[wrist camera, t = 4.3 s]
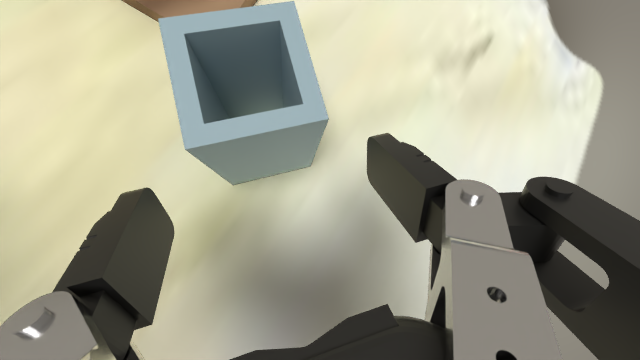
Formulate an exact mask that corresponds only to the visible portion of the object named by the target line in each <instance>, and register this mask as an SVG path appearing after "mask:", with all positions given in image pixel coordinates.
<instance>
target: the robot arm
mask: <svg viewBox="0 0 640 360" xmlns="http://www.w3.org/2000/svg"><path fill="white" fill-rule="evenodd" d="M367 175H368V179H369V181H370V183H371V185H372V186H373V188H374V189H375V190H376V192H377V193H378V194H379V195H380V197H381V198H382V199H383V201H384V202H385V203H386V205H387V206H388V207H389V208H390V210H391V211H392V212H393V214H394V215H395V216H396V218H397V219H398V220H399V221H400V223H401V224H402V225H403V227H404V228H405V229H406V231H407V232H408V233H409V234H410V236H411V237H412V238H413V240H414V241H415V242H416V243H417V242H420V241H423V240H426V239H428V240H429V241H430V242H431V243H432V245H431V249H430V266H429V285H428V300H427V307H426V312H425V320H422V319H418V318H413V317H405V316H393V314H392V312H391V310H390V308H389V306H388V304H386V305H383V306H380V307H378V308H375V309H372V310H369V311H366V312H363V313H361V314H358V315H355V316H352V317H349V318H347V319H345V320H344V321H342V322H341V323H340V324H338V325H337V326H335V327H334V328H333V329H331V330H330V331H328V332H327V333H325V334H324V335H323V336H321V337H320V338H318V339H317V340H316V341H314V342H313V343H311V344H310V345H308V346H306V347H302V348H287V349H270V350H256V351H253V352H250V353H247V354H244V355H241V356H239V357H236V358H233V359H230V360H563V358H562V355H561V352H560V349H559V345H558V342H557V339H556V336H555V332H554V329H553V326H552V323H551V319H550V316H549V313H548V310H547V307H548V308H549V309H550V310H551V311H552V312H553V313H554V314H555V315H556V316H557V317H558V318H559V319H560V320H561V321H562V322H563V323H564V324H565V325H566V327H567V328H568V329H569V330H570V331H571V332H572V333H574V335H575V336H576V337H577V338H578V339H579V340H580V341H581V342H582V343H583V344H584V345H585V346H586V347H587V348H588V349H589V350H590V351H591V352H592V353H593V354H594V355H595V356H596V357H597V359H598V360H640V221H639V220H637V219H635V218H634V217H632V216H630V215H628V214H627V213H625V212H623V211H621V210H619V209H618V208H616V207H614V206H612V205H611V204H609V203H607V202H605V201H604V200H602V199H600V198H598V197H597V196H595V195H593V194H591V193H589V192H588V191H586V190H584V189H582V188H580V187H579V186H577V185H575V184H573V183H570V182H568V181H565V180H562V179H558V178H552V177H535V178H532V179H530V180H529V181H528V182H527V183H526V185H525V187H524V189H523V191H522V192H510V193H498V192H497V191H496V190H494V189H493V188H492V187H490V186H488V185H486V184H484V183H481V182H478V181H474V180H457V179H456V178H454V177H453V176H452V175H450V174H449V173H448V172H447V171H445V170H444V169H443V168H441V167H440V166H439V165H438V164H436V163H435V162H434V161H431V159H430V158H429V157H427V156H426V155H424V153H422V152H421V151H420V150H418V149H417V148H416V147H414V146H412V145H409V144H407V143H404V142H401V143H400V142H399V141H398V140H397V139H395V138H394V137H393V136H392V135H391V134H389V133H385V134H381V135H376V136H372V137H369V138H368V142H367ZM86 238H87V240H84V242H83V244H82V245H81V247H80V248H79V249H80V251H78V252H77V253H76V255H75V256H74V258H73V260H72V261H71V263H70V264H69V266H68V268H67V269H66V271H65V273H64V274H63V276H62V277H61V279H60V281H59V282H58V284H57V285H56V287H55V289H54V290H53V292H52V293H49V294H46V295H43V296H41V297H39V298H37V299H35V300H33V301H31V302H30V303H28V304H26V305H25V306H23V307H22V308H20V309H19V310H18V311H17V312H15V313H14V314H13V315H12V316H10V317H9V318H8V319H7V320H6V321H5V322H4V323H3V324H2V325H1V326H0V360H145V359H144V357H143V356H142V354H141V353H140V351H139V350H138V348H137V347H136V345H135V344H134V343H133V342H131V338H132V334H133V331H134V330H136V329H139V328H143V327H146V326H149V325H152V323H153V319H154V315H155V311H156V307H157V303H158V299H159V295H160V291H161V287H162V283H163V279H164V275H165V271H166V267H167V263H168V258H169V254H170V250H171V246H172V242H173V238H174V226H173V223H172V221H171V219H170V217H169V215H168V214H167V212H166V211H165V209H164V208H163V206H162V204H161V203H160V201H159V200H158V198H157V196H156V195H155V193H154V192H153V191H152V190H151V189H150V188H143V189H138V190H134V191H130V192H125V193H122V194H121V195H120V196H119V198H118V200H117V201H116V203H115V205H114V206H113V208H112V210H111V211H109V212H107V213H106V214H105V215H104V216H103V217H102V218H101V219H100V220H99V221H98V222H96V223H95V224H94V226H93V227H92V229H91V231H90V232H89V234H88V236H87V237H86ZM564 240H567V241H568V242H569V243H571V244H572V245H573V246H575V247H576V248H577V249H579V250H580V251H581V252H582V253H584V254H585V255H586V256H588V257H589V258H590V259H592V260H593V261H594V262H596V263H597V264H598V265H599V266H601V267H602V268H603V269H604V270H605V272H606V274H607V275H608V278H609V286H608V287H607V289H604V288H603V287H601V286H600V285H599V284H598V283H596V282H595V281H594V280H593V279H592V278H590V277H589V276H588V275H586V274H585V273H584V272H583V271H582V270H580V269H579V268H578V267H577V266H576V265H574V264H573V263H572V262H571V261H569V260H568V259H567V258H566V257H564V256H563V255H562V254H561V253H559V252H558V251H557V250H558V249H559V247H560V246H561V244H562V243H563V242H564Z"/></svg>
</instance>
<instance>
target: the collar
mask: <svg viewBox="0 0 640 360" xmlns="http://www.w3.org/2000/svg"><path fill="white" fill-rule="evenodd" d="M158 21H159V25H160V30H161V35H162V40H163V45H164V50H165V55H166V59H167V64H168V69H169V74H170V79H171V84H172V88H173V93H174V98H175V103H176V108H177V113H178V118H179V122H180V127H181V132H182V137H183V142H184V147H185V150H186V151H188V152H189V153H190V154H192V155H193V156H194V157H196V158H197V159H199V160H200V161H201V162H203V163H204V164H205V165H207V166H208V167H209V168H211V169H212V170H213V171H215V172H216V173H217V174H219V175H220V176H221V177H223V178H224V179H225V180H227V181H228V182H229V183H231V184H232V185H235V184H239V183H243V182H247V181H252V180H256V179H260V178H264V177H268V176H272V175H276V174H280V173H284V172H289V171H293V170H297V169H301V168H305V167H309V166H311V163H312V161H313V158H314V156H315V153H316V150H317V148H318V145H319V143H320V140H321V138H322V135H323V132H324V130H325V127H326V125H327V122H328V119H329V118H328V115H327V111H326V108H325V105H324V101H323V98H322V94H321V91H320V88H319V84H318V81H317V77H316V74H315V71H314V67H313V64H312V60H311V57H310V54H309V50H308V47H307V43H306V40H305V37H304V33H303V30H302V27H301V23H300V20H299V16H298V13H297V10H296V6H295V3H294V1H291V2H283V3H275V4H267V5H260V6H252V7H244V8H236V9H228V10H221V11H213V12H205V13H197V14H189V15H182V16H174V17H166V18H158Z"/></svg>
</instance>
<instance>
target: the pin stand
mask: <svg viewBox="0 0 640 360" xmlns="http://www.w3.org/2000/svg"><path fill="white" fill-rule="evenodd" d="M122 1H124V2H126V3H127V4H129V5H131V6H132V7H134V8H136V9H138V10H139V11H141V12H143V13H144V14H146V15H148V16H149V17H151V18H153V19H155V20H156V21H158V18H166V17H174V16H182V15H189V14H197V13H205V12H213V11H221V10H228V9H236V8H244V7H252V6H253V5H254V4H255V2H256V1H257V0H122ZM158 22H159V21H158Z"/></svg>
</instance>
